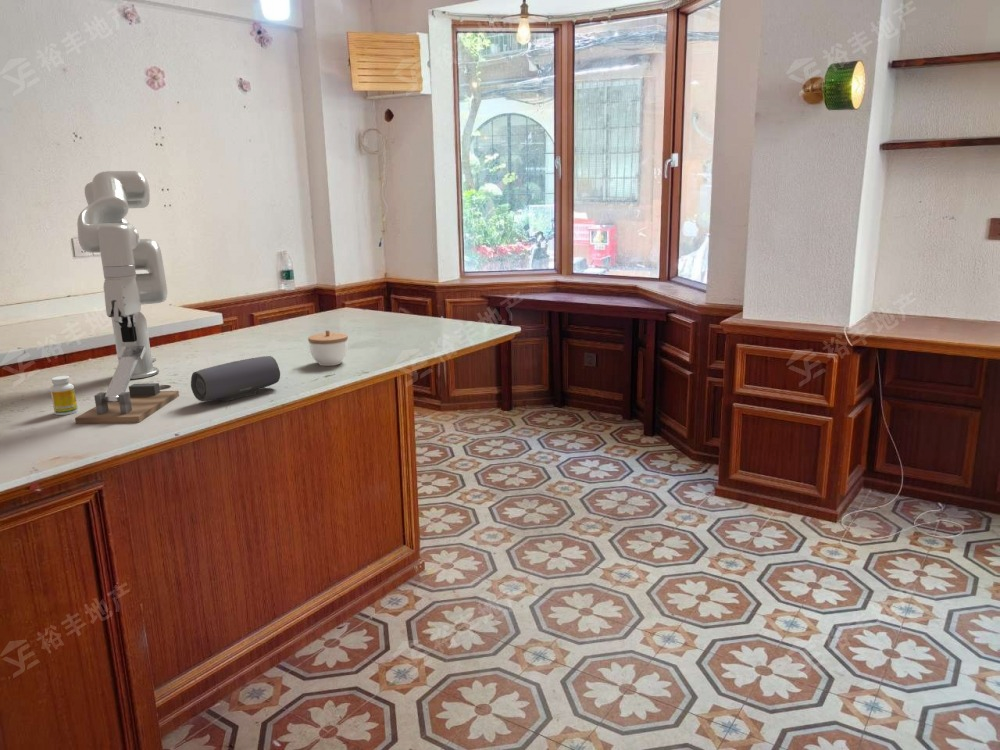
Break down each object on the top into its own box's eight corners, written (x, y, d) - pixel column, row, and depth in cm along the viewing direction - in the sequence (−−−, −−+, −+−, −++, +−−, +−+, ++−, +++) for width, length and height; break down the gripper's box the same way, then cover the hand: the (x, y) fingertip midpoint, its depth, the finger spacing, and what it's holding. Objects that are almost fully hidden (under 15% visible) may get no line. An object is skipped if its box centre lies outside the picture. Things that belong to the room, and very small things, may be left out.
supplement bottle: (51, 413, 194) (45, 377, 192) (74, 408, 198) (68, 373, 196) (58, 417, 191) (52, 381, 188) (81, 412, 195) (75, 377, 192)
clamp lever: (124, 349, 200) (121, 345, 199) (146, 349, 200) (144, 345, 199) (101, 404, 188) (98, 400, 186) (124, 403, 188) (122, 399, 186)
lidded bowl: (340, 368, 236) (337, 334, 233) (303, 367, 238) (300, 333, 236) (355, 359, 248) (353, 327, 245) (320, 358, 250) (317, 326, 248)
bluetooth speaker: (264, 385, 218) (261, 352, 215) (283, 389, 212) (279, 356, 210) (191, 403, 201) (187, 367, 199) (209, 408, 195) (205, 372, 193)
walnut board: (122, 397, 208) (119, 374, 207) (179, 395, 208) (176, 373, 207) (75, 423, 185) (71, 398, 183) (139, 422, 185) (135, 397, 183)
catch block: (135, 393, 206) (133, 383, 206) (160, 392, 206) (158, 383, 206) (130, 396, 203) (128, 386, 203) (155, 395, 203) (154, 386, 203)
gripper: (119, 270, 200) (129, 336, 204) (90, 276, 185) (101, 347, 189) (147, 269, 200) (156, 336, 204) (119, 275, 185) (130, 346, 189)
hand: (130, 341), depth 197 cm, fingers closed
